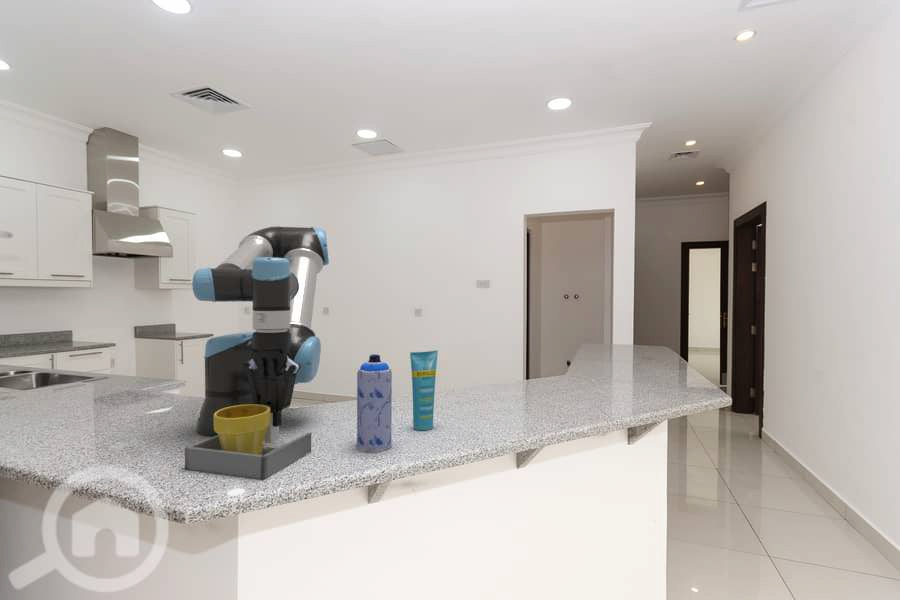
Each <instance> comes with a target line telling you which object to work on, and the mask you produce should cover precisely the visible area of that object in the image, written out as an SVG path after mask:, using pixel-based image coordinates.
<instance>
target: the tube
mask: <svg viewBox="0 0 900 600" xmlns="http://www.w3.org/2000/svg"><path fill="white" fill-rule="evenodd" d="M438 353H439V352H438V350H428V351H415V352H413V351H411V352H410V353H409V358H410V365H411V366H410V367H411V384H412V417H413V418H412V422H413V424H412V425H413V429H415V430H417V431H430V430H432V429H433V428H434V412H435V411H434V407H435V390H436V377H437V375H436V374H437V363H438V355H439V354H438Z"/></svg>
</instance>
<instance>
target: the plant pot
mask: <svg viewBox="0 0 900 600" xmlns="http://www.w3.org/2000/svg"><path fill="white" fill-rule="evenodd" d="M269 425H270V408H269V407H268V406H266V405H261V404H244V405H236V406H230V407H226V408H223V409H220V410H218V411H216V412H215V413H214V431H215V432H216V433H218V436H219V440H220V444H221V447H222V451H231V452H239V453H248V454H257V455H262V451H263V447H264V446H263V445H264V443H265V433H266V429H267V427H268V426H269Z"/></svg>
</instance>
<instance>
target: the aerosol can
mask: <svg viewBox="0 0 900 600" xmlns="http://www.w3.org/2000/svg"><path fill="white" fill-rule="evenodd" d="M368 357H369V359H368V360H366V362H363V363H362V364H361V365H360V367H359V368H358V369H357V372H356V376H357V377H356V382H357V383H356V385H357V387H356V397H357V398H356V444H355V449H356V450H357V451H360V452H364V453H381V452H385V451H388V450H390V449H392V447H393V442H392V411H393V410H392V395H393V394H392V392H393V391H392V389H393V387H392V386H393V385H392V383H393V379H392V378H393V375H392V368H391V367H390V366H389V364H388V363H386V362H385V361H383V360H381V355H380V354H370V355H369V356H368Z"/></svg>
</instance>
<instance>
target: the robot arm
mask: <svg viewBox="0 0 900 600" xmlns="http://www.w3.org/2000/svg"><path fill="white" fill-rule="evenodd" d="M328 250H329V249H328V240H327V231H326V230H325V229H323V228H322V227H321V228H320V227H314V226H311V227H300V226H298V227H297V226H296V227H295V226H269V227H265V228H261V229H259V230H256V231H254V232H252V233H250V234H248V235H246V236H244V237H243V238H242V240H240V242H239V244H238V247H237V249H235V250H234V251H233V252H232V253H231V254H230V255H229V256H228V257H227V258H225V259H224V260H223V261H222V262H221V263H220V264H218V266H217V267H214V268H212V267H207V268H198V269H196V270H195V272H194V274H193V276H192V292H193V295H194V297H195V298H196V299H197V300H198V301H202V302H212V303H216V302H220V303H221V302H224V303H228V302H252V329H253V330H254V331H247V332H246V331H245V332H238V333H232V334H224V335H219V336H214V337H211V338H209V339H207V340H206V343H205V347H204V349H205V352H204V356H203V359H204V401H203V404H202V406H201V410H200V413H199V417H198V418H197V421H196V432H197V433H198V434H200V435H203V436H210V437H211V436H212V437H214V436H217V435H218V433H216V432H215V431H214V413H215V412H216V411H218V410H220V409H223V408H226V407H230V406H236V405H244V404H261V405H266V406H268V407H269V408H270V425H269V426H268V427H267V429H266V433H265V438H264V443H265V444H272V443H274V442H277V441H278V440H280V439H279V438H280V435H279V434H280V431H279V430H280V429H279V427H280V426H281V425H282V418H283V417H282V411H283V410H284V409H287V408H290V407H291V402H292V398H293V394H294V390H295V389H294V388H295V385H298V384H307V383H310V382H311V381H313V380H314V379H315V377H316V376H317V373H318V370H319V367H320V366H319V365H320V360H321V351H322V349H321V348H322V347H321V346H322V345H321V340H320V338H319V337H316V332H315V331H314V330H313V329H312V319H313V314H314V313H313V312H314V304H315V296H316V295H315V294H316V287H317V278H318V274H319V273H320V272H321V271H322V270H323V267H324V266H327V265H329V264H330V260H329V252H328Z"/></svg>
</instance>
